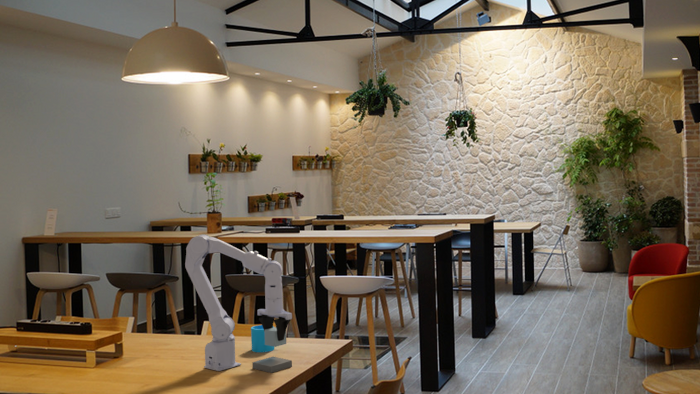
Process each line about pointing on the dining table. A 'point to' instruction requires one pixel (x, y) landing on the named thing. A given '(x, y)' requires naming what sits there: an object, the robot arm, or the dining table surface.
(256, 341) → the mug
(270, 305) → the robot arm
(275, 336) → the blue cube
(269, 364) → the slate base
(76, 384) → the dining table surface
